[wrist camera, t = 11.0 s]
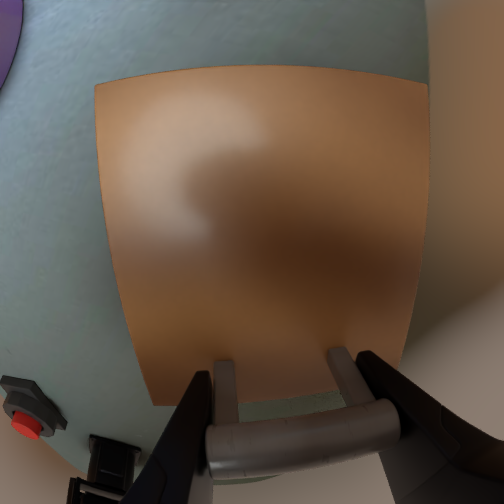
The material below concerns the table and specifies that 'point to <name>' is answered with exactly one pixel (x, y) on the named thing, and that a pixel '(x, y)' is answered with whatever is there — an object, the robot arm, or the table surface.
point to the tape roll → (9, 33)
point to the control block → (31, 404)
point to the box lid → (267, 245)
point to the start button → (26, 425)
